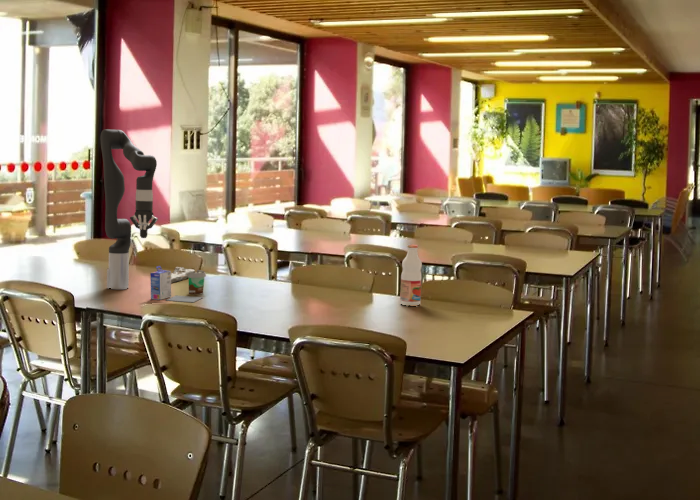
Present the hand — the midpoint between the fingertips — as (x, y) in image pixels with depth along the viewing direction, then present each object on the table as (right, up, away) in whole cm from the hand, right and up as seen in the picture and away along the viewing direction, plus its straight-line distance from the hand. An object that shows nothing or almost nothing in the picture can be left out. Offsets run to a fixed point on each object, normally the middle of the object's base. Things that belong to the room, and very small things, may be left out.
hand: (143, 237), depth 408 cm
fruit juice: (+121, -31, +9) cm, 125 cm away
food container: (+22, -26, +20) cm, 39 cm away
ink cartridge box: (+7, -28, +2) cm, 28 cm away
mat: (+18, -28, +1) cm, 33 cm away
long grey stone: (+4, -21, +60) cm, 64 cm away
